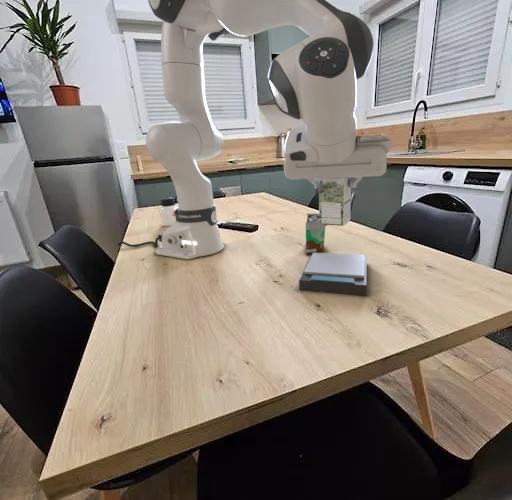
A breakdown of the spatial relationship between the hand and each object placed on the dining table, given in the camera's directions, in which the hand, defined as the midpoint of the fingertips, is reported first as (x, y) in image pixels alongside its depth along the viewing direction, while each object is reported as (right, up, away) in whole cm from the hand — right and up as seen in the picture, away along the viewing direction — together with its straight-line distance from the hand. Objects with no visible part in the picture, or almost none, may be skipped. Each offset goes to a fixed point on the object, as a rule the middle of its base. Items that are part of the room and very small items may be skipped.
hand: (335, 185), depth 66 cm
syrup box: (+1, -8, +2) cm, 9 cm away
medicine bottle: (-57, -2, +72) cm, 92 cm away
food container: (+1, -15, +24) cm, 28 cm away
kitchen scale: (+1, -21, +5) cm, 21 cm away
